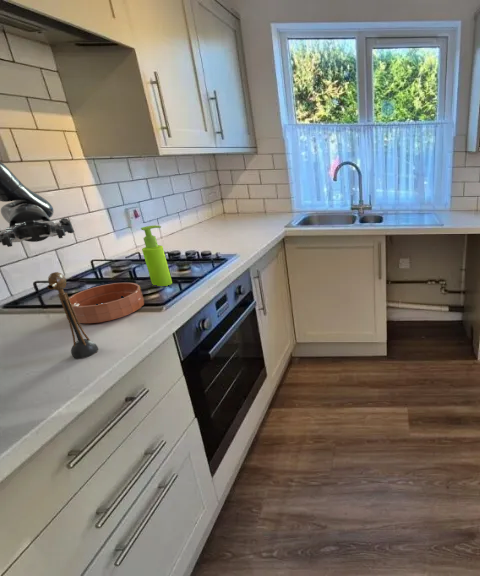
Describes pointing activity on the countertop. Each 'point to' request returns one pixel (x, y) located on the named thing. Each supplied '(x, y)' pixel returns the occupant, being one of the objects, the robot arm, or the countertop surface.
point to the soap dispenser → (155, 259)
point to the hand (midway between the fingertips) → (34, 237)
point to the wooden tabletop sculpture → (72, 319)
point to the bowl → (106, 302)
